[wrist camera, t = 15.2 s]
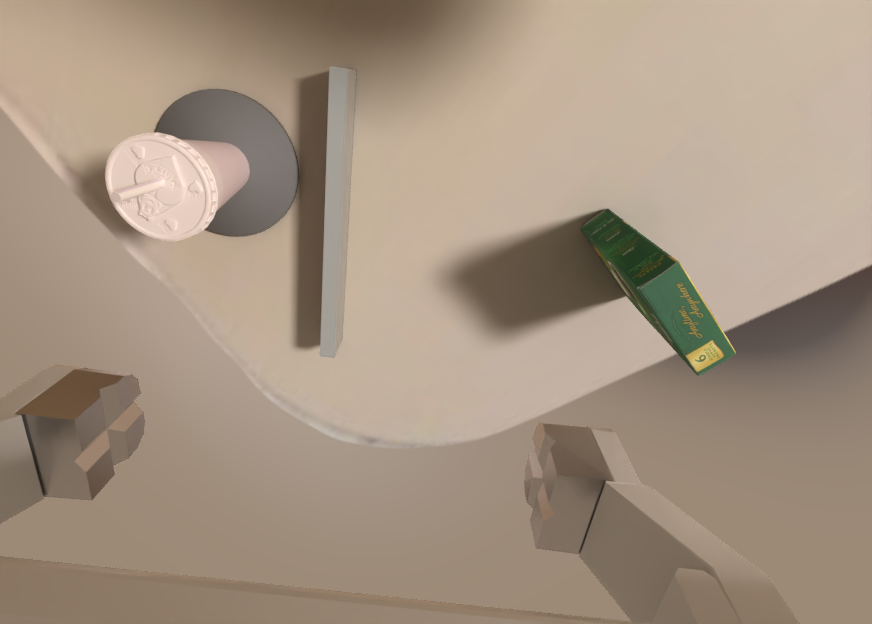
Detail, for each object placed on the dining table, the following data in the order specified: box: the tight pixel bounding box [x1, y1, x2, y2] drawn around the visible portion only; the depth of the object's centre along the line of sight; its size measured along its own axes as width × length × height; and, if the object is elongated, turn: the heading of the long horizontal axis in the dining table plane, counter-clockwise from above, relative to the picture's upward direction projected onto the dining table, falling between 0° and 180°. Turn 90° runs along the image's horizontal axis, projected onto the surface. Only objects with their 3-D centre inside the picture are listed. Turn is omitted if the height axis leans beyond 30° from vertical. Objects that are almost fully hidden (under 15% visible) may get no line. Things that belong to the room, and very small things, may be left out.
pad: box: [156, 89, 299, 236], centre depth 38 cm, size 11×11×1 cm
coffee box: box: [581, 209, 736, 376], centre depth 35 cm, size 8×3×13 cm, turn 38°
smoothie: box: [105, 132, 250, 241], centre depth 32 cm, size 6×6×14 cm
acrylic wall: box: [320, 66, 357, 358], centre depth 38 cm, size 22×1×4 cm, turn 173°
